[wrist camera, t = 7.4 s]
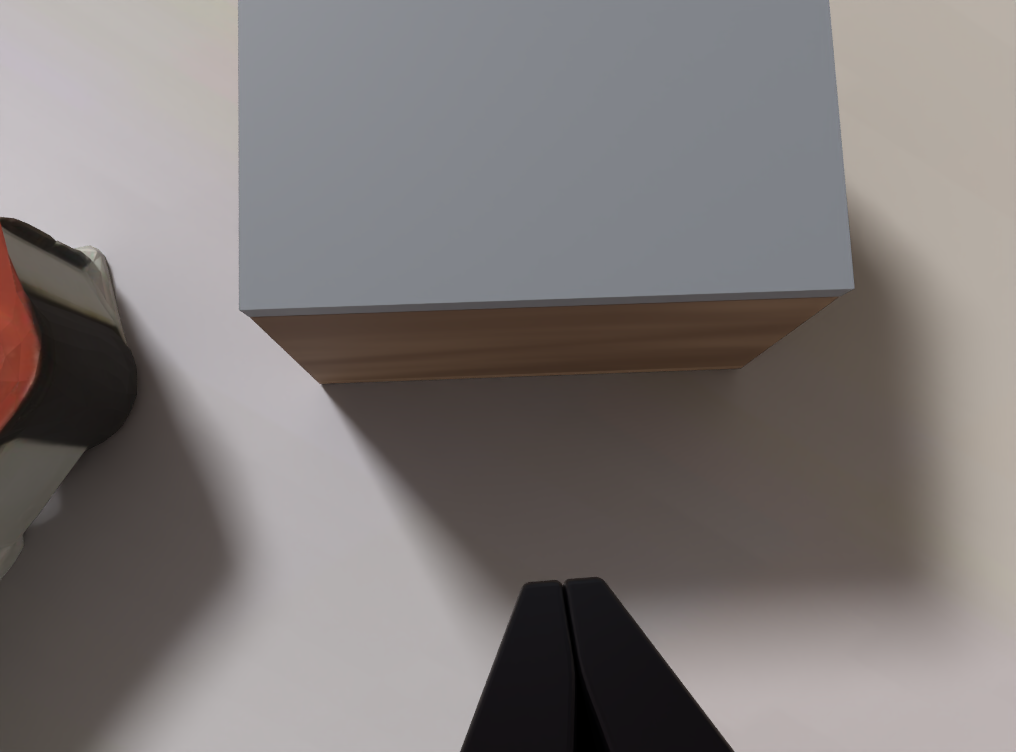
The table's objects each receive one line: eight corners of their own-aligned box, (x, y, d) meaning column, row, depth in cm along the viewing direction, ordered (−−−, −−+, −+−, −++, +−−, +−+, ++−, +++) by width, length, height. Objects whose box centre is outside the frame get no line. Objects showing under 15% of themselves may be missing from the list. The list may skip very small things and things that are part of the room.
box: (740, 368, 21) (839, 297, 15) (320, 384, 21) (249, 317, 15) (711, 62, 22) (790, -111, 16) (319, 73, 22) (257, -99, 16)
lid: (840, 296, 15) (854, 288, 14) (248, 316, 15) (239, 310, 14) (802, -137, 16) (814, -161, 15) (247, -125, 16) (238, -148, 15)
